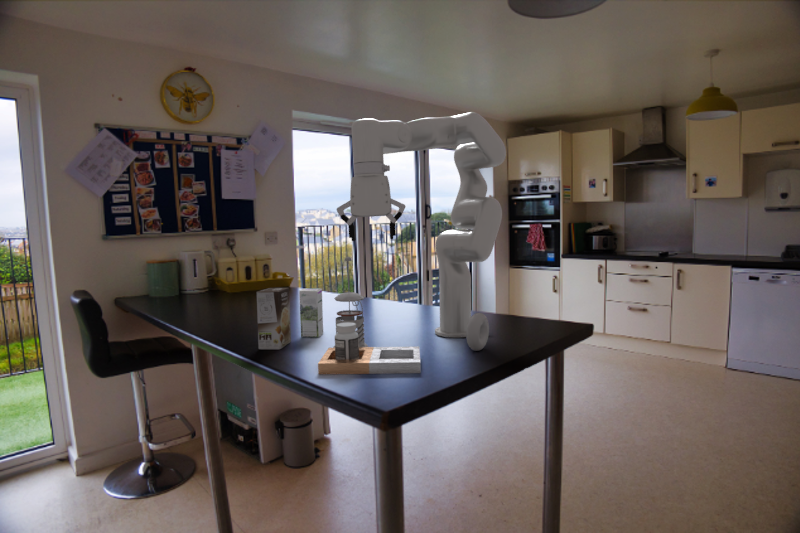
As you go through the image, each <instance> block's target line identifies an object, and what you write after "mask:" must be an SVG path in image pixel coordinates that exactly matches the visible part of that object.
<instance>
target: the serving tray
mask: <svg viewBox="0 0 800 533" xmlns="http://www.w3.org/2000/svg"><path fill="white" fill-rule="evenodd" d="M420 352H421V351H420V346H368V347H359V359H344V360H336V357H335V348H333V347H328V348H327V350H326V351H325V353H324V354H323V356H322V357H321V358H320V360H319V362H318V363H317V369H318V370H317V373H318V375H370V374H371V375H372V374H373V375H375V374H376V375H377V374H379V375H380V374H383V375H384V374H390V375H391V374H393V375H394V374H421V371H422V370H421V368H422V366H421V353H420Z"/></svg>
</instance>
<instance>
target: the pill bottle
mask: <svg viewBox="0 0 800 533" xmlns="http://www.w3.org/2000/svg"><path fill="white" fill-rule="evenodd" d="M336 330H337V331H338V332H337V334H336V333H335V335H334V346H335V357H336V360H344V359H359V336H358V334H357V333H356V332H355V331H356V330H357V328H356V324H355V323H351V322H346V323H339V324H337V325H336V324H335V331H336Z"/></svg>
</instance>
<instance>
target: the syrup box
mask: <svg viewBox="0 0 800 533" xmlns="http://www.w3.org/2000/svg"><path fill="white" fill-rule="evenodd" d="M298 293H299V294H298V296H299V297H298V298H299V319H300V337H301V338H320V337H321V336H322V335H323V334H324V318H323V316H324V315H323V312H324V311H323V289H322V287H321V288H319V287H318V288H317V287H314V288H313V287H312V288H311V287H310V288H306V287H305V288H301V289H300V290H299V291H298Z"/></svg>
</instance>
